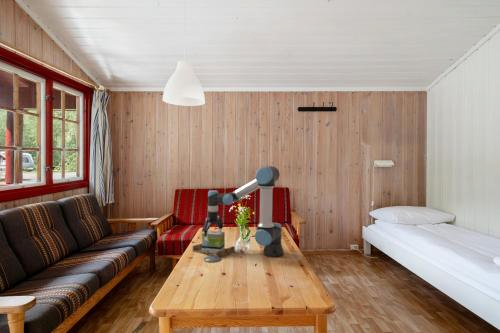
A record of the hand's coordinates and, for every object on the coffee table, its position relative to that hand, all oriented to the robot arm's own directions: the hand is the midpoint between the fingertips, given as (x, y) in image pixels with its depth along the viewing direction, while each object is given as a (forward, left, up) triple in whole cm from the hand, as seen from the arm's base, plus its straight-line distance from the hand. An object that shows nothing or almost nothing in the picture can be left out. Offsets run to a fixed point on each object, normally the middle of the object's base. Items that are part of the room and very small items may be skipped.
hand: (213, 238), depth 236 cm
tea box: (0, 0, -10) cm, 10 cm away
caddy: (0, 0, -10) cm, 10 cm away
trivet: (+14, +13, -10) cm, 22 cm away
